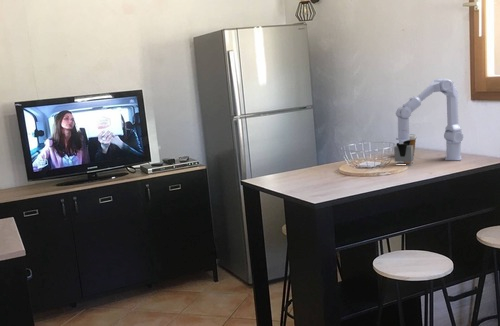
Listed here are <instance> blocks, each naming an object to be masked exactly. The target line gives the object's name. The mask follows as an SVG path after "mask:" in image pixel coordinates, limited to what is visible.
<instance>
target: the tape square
mask: <svg viewBox="0 0 500 326" xmlns="http://www.w3.org/2000/svg"><path fill="white" fill-rule="evenodd" d="M395 164H405V163H404V162H395ZM413 164H414V162H413V161H412V162H411V163H410V164H406V165H407V166H406V167H408V166H409V167H411V166H412V165H413Z"/></svg>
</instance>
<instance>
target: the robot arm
mask: <svg viewBox="0 0 500 326" xmlns="http://www.w3.org/2000/svg"><path fill="white" fill-rule="evenodd" d="M438 92H439V93H440V92H441V93H442V94H444V95H445V96H446V118H447V125H446V126H445V130H444V131H445V132H444V134H443V137H444V139H445V142H446V144H445V145H446V146H445V148H446V149H445V151H446V152H445V153H446V154H445V155H446V156H445V158H444V161H462V158H463V155H461V154H462V153H461V152H462V151H461V149H462V147H461V146H462V141H463V139H464V134H463V132H462V128H461V127H460V125H459V108H458V107H459V105H458V104H459V102H458V101H459V99H458V98H459V97H458V96H459V95H458V90H457V88H456V86H455V85H454V82H453V81H452V80H451V79H449V78H435V79H434V80H433V81H432V82H430V84H429V85H428V86H427V87H426V88H424V89H423V91H421V92H420V94H418V95H417V96H413V97H410V98H409V99H408V101H407V102H405V103H403V104H402V106H399V107H398V108H397V109H396V111H395V116H396V117H397V137H396V138H395V140H396V141H398V142H397V143H396V145H397V147H398V149H399V152H400V156H401V157H405V153H406V147H407V145H409V144H410V142H411V140H410V138H409V134H410V117H411V116H412V113H413V112H414V111H416V110H417V109H418V108H419V107H420V106H421V105H422V102H423V101H424V100H425V99H427V98H429V96H430V95H432V94H433V93H438Z"/></svg>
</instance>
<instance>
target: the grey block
mask: <svg viewBox="0 0 500 326" xmlns="http://www.w3.org/2000/svg"><path fill="white" fill-rule="evenodd" d="M393 151H394V152H393V153H394V162H395V163H397V162H413V161H414V159H415V158H414V156H415V155H414V156H413V145H407V147H406V153H405V157H401V156H400V152H399V149H398V147H397V144H396V145H395V146H394V147H393Z"/></svg>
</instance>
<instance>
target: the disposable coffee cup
mask: <svg viewBox="0 0 500 326" xmlns="http://www.w3.org/2000/svg"><path fill="white" fill-rule="evenodd" d="M409 138H410V140H411V142H410V144H409V145H413V156H415V149H416V139H417V135H416V134H413V133H409Z"/></svg>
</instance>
